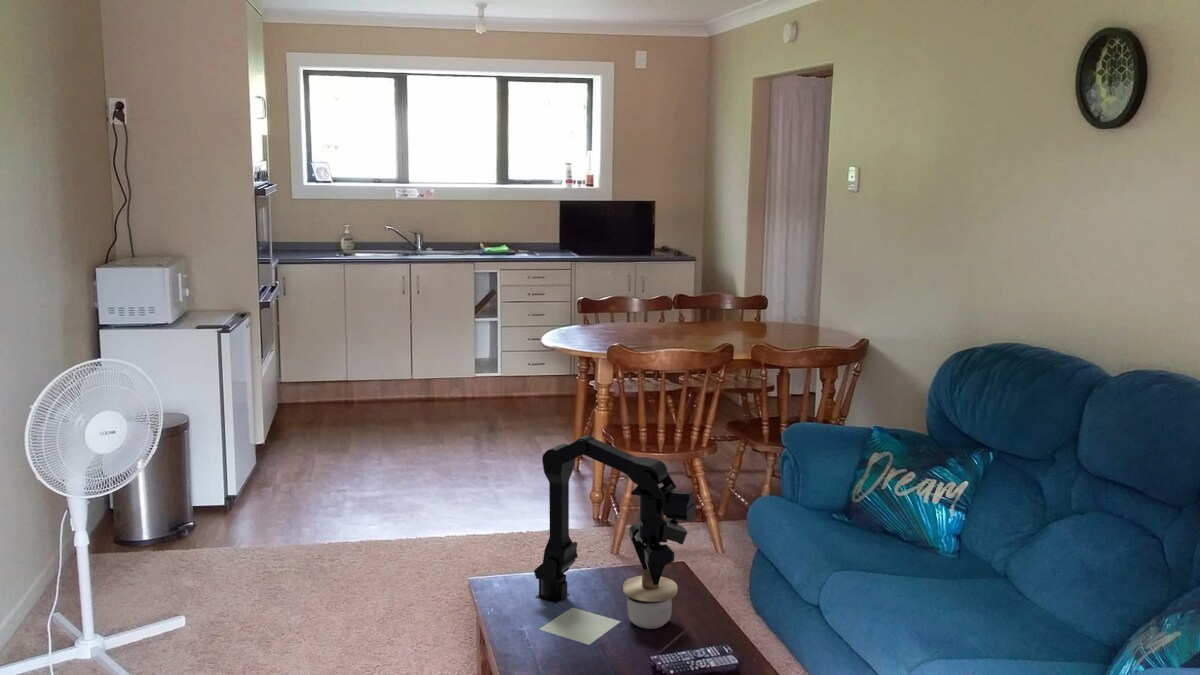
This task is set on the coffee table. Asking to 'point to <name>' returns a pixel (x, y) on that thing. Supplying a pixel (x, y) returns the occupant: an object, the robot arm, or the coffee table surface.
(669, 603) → the teacup
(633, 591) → the oak lid
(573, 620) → the sage mat
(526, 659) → the coffee table surface
